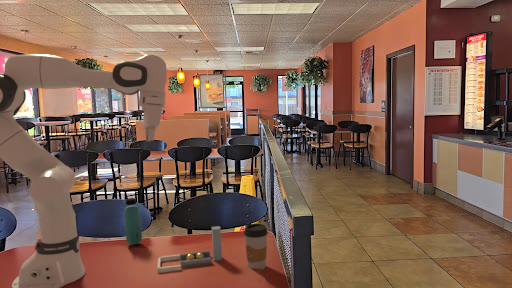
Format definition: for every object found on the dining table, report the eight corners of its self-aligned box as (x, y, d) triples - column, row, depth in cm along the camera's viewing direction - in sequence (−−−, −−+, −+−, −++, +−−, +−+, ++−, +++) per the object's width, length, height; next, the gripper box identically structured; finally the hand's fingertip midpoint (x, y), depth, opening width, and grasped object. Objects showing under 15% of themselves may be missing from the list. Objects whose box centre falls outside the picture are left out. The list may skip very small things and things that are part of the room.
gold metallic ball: (186, 264, 141) (185, 256, 140) (186, 260, 143) (185, 253, 143) (194, 263, 141) (194, 255, 141) (194, 259, 144) (193, 252, 144)
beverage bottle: (137, 248, 159) (134, 201, 157) (123, 247, 161) (119, 200, 158) (145, 242, 166) (142, 196, 163) (131, 241, 167) (127, 196, 164)
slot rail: (181, 270, 138) (180, 262, 138) (180, 261, 145) (180, 254, 145) (211, 266, 140) (211, 258, 140) (209, 258, 147) (209, 250, 147)
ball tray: (157, 275, 135) (157, 268, 134) (158, 263, 144) (158, 256, 144) (181, 272, 136) (180, 265, 136) (180, 260, 146) (180, 254, 146)
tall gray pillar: (214, 264, 142) (212, 230, 141) (213, 259, 146) (211, 226, 144) (222, 263, 143) (220, 229, 141) (220, 258, 147) (219, 225, 145)
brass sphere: (196, 263, 141) (195, 255, 141) (195, 259, 144) (195, 252, 144) (204, 262, 142) (203, 254, 141) (203, 258, 145) (203, 251, 144)
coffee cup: (240, 268, 138) (238, 227, 136) (256, 260, 144) (254, 221, 142) (257, 275, 133) (256, 233, 131) (273, 266, 139) (272, 226, 137)
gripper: (140, 104, 145) (138, 141, 145) (145, 97, 126) (142, 139, 126) (157, 106, 147) (155, 142, 147) (165, 99, 128) (162, 140, 128)
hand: (149, 141), depth 136 cm, fingers open, 8 cm apart
